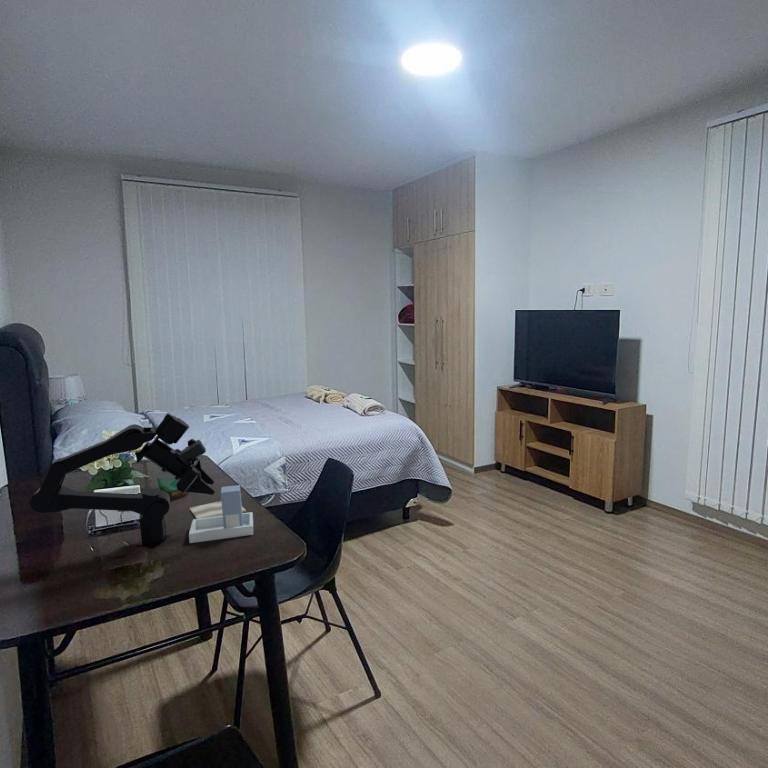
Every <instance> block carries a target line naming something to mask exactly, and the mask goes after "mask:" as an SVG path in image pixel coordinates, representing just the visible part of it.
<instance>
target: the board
mask: <svg viewBox="0 0 768 768" xmlns="http://www.w3.org/2000/svg"><path fill="white" fill-rule="evenodd" d="M189 511H191V514H192V515H193V516H194V517H195V519H201V518H209V517H217V516H223V513H222V501H221V500H219V501H214V502H210V503H206V504H201V505H196V506H191V507H189ZM242 513H248V511H247V510H246V508H244V506H242Z"/></svg>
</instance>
